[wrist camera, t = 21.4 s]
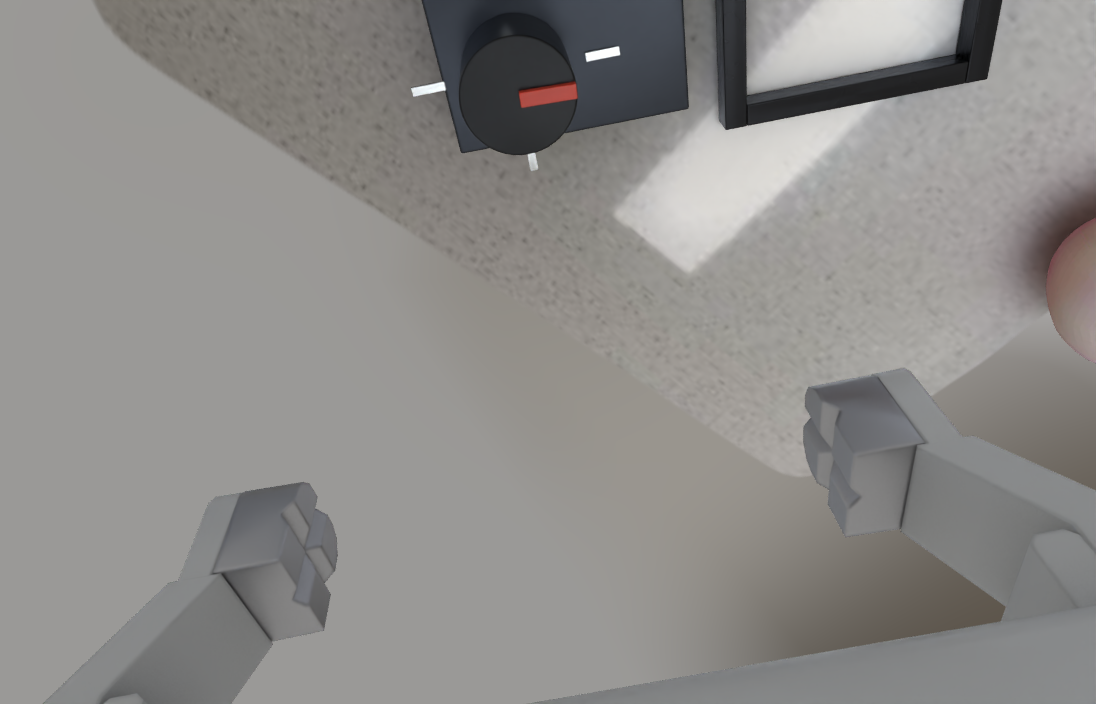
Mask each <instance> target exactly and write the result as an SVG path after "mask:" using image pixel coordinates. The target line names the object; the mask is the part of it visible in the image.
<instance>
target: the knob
mask: <svg viewBox="0 0 1096 704" xmlns="http://www.w3.org/2000/svg"><path fill="white" fill-rule="evenodd" d="M458 94H459V106H460V110H461V114H462V116H463V119H464V121H465V123H466V125H467V126H468V128H469V130H470V131H471V132H472V133H473V135H474V136H475V137H476V138H477V139H478V140H479V141H481V142H482V143H483V144H484V145H486V146H488V147H489V148H491V149H493V150H496V151H498V152H501V153H505V154H511V155H526V154H531V153H535V152H538V151H541V150H543V149H545V148H547V147H549V146H550V145H552V144H553V143H555V142H556V141H557V140H558V139H559V138H560V137H561V136H562V135H563V134H564V133H565V131H566V130H567V128H568V127H569V125H570V123H571V121H572V119H573V117H574V114H575V111H576V106H577V98H578V92H577V83H576V79H575V76H574V73H573V70H572V67H571V64H570V61H569V58H568V55H567V52H566V49H565V47H564V45H563V43H562V41H561V39H560V38H559V36H558V35H557V34H556V32H555V31H554V30H553V29H552V28H551V27H550V26H549V25H547V24H546V23H544V22H543V21H541V20H539V19H537V18H535V17H533V16H530V15H526V14H521V13H509V14H503V15H499V16H496V17H494V18H491V19H490V20H488V21H486V22H485V23H483V24H482V25H481V26H479V27H478V28H477V30H476V31H475V32H474V33H473V34H472V35H471V37H470V38H469V40H468V42H467V44H466V46H465V48H464V51H463V55H462V59H461V69H460V80H459V91H458Z"/></svg>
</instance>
